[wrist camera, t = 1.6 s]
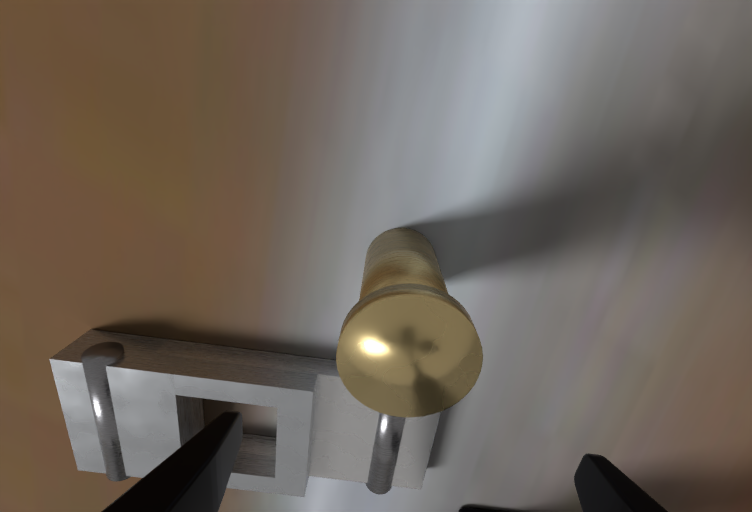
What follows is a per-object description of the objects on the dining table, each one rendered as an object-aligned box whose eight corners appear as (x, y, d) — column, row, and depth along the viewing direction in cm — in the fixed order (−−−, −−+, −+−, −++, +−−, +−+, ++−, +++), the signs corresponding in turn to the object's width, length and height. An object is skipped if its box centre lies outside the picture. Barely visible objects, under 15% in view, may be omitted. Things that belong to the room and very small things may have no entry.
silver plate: (444, 370, 23) (452, 408, 20) (418, 472, 27) (422, 518, 24) (89, 325, 23) (44, 357, 20) (111, 435, 26) (75, 476, 23)
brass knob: (452, 225, 20) (499, 308, 11) (435, 304, 22) (464, 425, 13) (362, 213, 20) (343, 287, 11) (352, 293, 22) (330, 408, 13)
